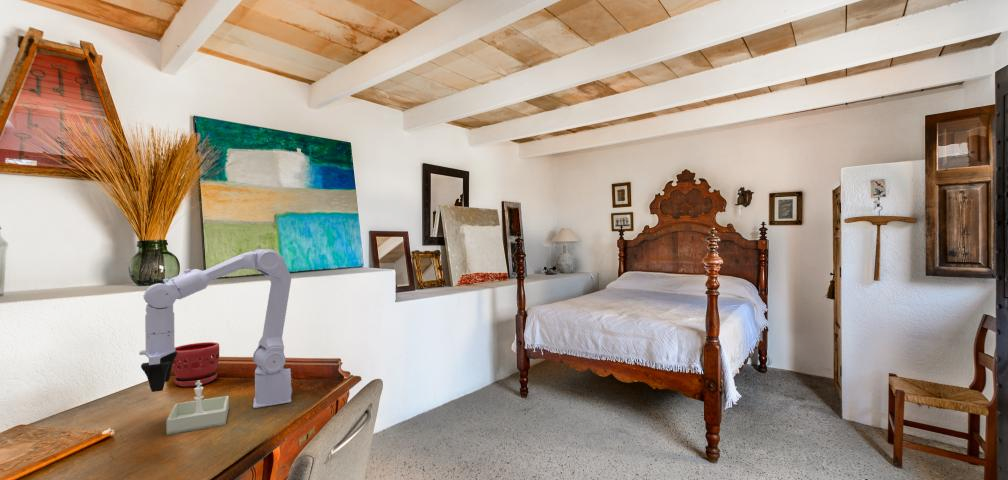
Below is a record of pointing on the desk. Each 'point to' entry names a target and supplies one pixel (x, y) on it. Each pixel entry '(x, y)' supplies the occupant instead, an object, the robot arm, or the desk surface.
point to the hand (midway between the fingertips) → (160, 386)
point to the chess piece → (198, 398)
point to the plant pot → (196, 363)
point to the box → (185, 422)
